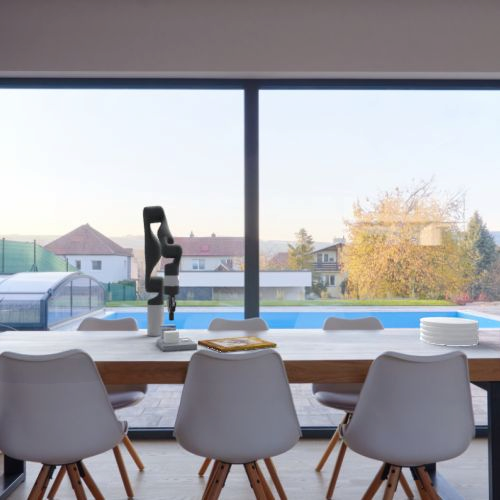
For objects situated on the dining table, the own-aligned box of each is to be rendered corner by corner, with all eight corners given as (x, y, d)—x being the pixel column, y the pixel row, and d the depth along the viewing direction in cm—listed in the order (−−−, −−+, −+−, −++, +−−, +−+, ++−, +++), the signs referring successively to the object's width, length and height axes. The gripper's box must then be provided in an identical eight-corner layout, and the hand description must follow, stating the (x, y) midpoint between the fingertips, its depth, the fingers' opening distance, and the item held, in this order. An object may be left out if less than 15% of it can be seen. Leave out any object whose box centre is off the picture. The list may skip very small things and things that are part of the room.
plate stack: (425, 336, 262) (425, 316, 262) (481, 340, 248) (480, 319, 248) (415, 343, 238) (415, 321, 238) (476, 349, 224) (475, 325, 224)
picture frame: (197, 340, 237) (249, 336, 252) (197, 345, 237) (249, 340, 252) (221, 349, 214) (276, 343, 228) (221, 354, 214) (276, 348, 228)
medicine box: (160, 342, 241) (160, 325, 241) (160, 341, 245) (160, 324, 245) (176, 341, 243) (176, 325, 243) (175, 340, 247) (175, 324, 248)
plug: (163, 345, 229) (163, 331, 229) (176, 344, 231) (176, 330, 232) (165, 347, 224) (165, 332, 224) (178, 346, 226) (178, 332, 226)
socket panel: (156, 344, 235) (156, 337, 235) (188, 342, 241) (188, 336, 241) (163, 351, 216) (163, 344, 216) (197, 349, 222) (197, 342, 222)
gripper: (161, 284, 233) (161, 319, 233) (166, 285, 221) (165, 322, 220) (176, 284, 236) (176, 318, 235) (181, 285, 224) (181, 321, 223)
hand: (171, 320), depth 228 cm, fingers closed
